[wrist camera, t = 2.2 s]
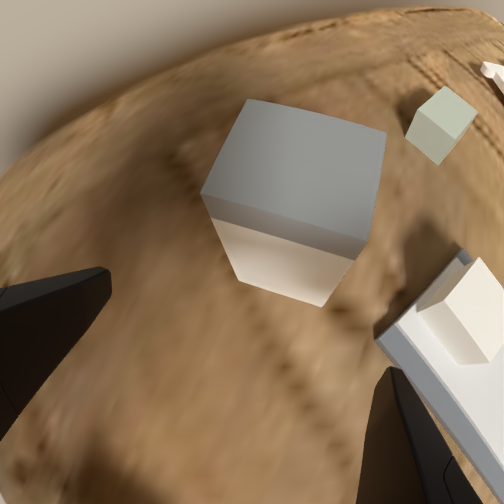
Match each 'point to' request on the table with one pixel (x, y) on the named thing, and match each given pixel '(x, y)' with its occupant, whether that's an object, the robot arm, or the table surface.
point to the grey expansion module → (294, 197)
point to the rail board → (458, 360)
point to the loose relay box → (440, 124)
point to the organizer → (494, 73)
